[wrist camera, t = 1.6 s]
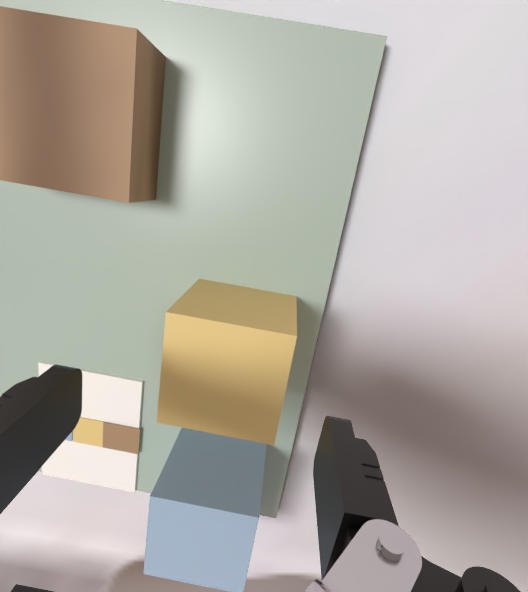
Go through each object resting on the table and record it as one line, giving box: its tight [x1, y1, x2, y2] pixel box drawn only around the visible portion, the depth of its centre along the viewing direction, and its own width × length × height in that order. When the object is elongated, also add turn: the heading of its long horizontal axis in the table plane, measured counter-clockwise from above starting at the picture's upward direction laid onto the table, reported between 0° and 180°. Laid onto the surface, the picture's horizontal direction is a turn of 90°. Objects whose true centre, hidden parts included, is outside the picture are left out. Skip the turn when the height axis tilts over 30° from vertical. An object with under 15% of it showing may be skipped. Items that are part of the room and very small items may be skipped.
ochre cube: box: [156, 279, 297, 445], centre depth 17 cm, size 5×5×5 cm
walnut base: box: [0, 6, 166, 203], centre depth 15 cm, size 6×6×3 cm
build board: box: [0, 0, 387, 518], centre depth 19 cm, size 18×26×1 cm
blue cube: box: [144, 428, 267, 592], centre depth 19 cm, size 5×5×5 cm
